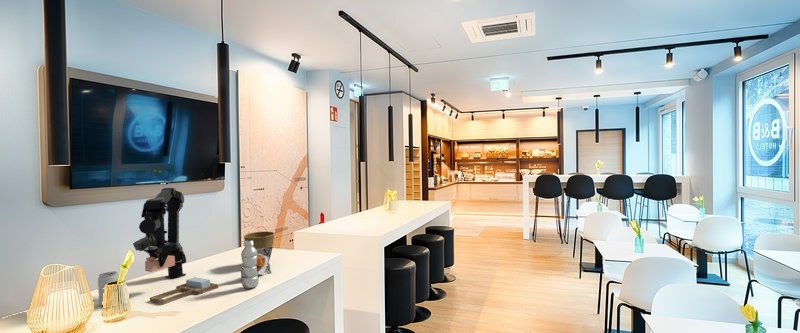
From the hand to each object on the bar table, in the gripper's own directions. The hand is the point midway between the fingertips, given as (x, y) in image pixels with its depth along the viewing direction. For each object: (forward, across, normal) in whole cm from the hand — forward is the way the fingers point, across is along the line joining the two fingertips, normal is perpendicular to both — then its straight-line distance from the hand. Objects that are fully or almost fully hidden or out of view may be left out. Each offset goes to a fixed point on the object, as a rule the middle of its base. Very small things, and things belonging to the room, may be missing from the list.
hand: (158, 266), depth 158 cm
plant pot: (+11, +8, +46) cm, 48 cm away
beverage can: (+11, -5, -16) cm, 20 cm away
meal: (+11, +24, +30) cm, 40 cm away
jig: (+11, +12, +3) cm, 16 cm away
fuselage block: (+1, 0, +1) cm, 1 cm away
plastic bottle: (+11, +32, +19) cm, 39 cm away
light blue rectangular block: (+11, +12, +10) cm, 19 cm away
